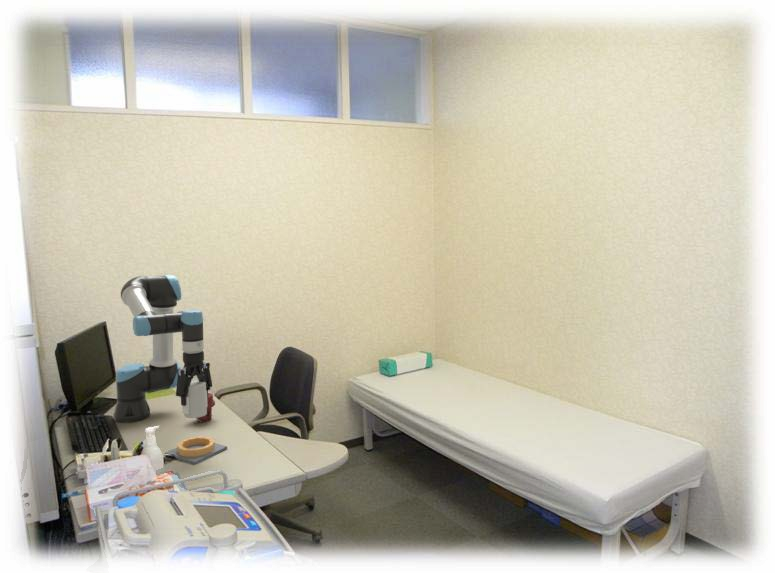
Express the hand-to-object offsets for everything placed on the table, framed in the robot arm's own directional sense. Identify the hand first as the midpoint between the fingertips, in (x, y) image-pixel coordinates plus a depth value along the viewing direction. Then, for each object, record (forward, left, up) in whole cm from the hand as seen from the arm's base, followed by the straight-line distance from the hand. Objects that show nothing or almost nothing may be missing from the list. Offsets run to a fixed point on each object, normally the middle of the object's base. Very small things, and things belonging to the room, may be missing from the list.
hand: (195, 409), depth 207 cm
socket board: (0, 0, -17) cm, 17 cm away
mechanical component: (-24, +26, -17) cm, 39 cm away
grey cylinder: (0, 0, -2) cm, 2 cm away
